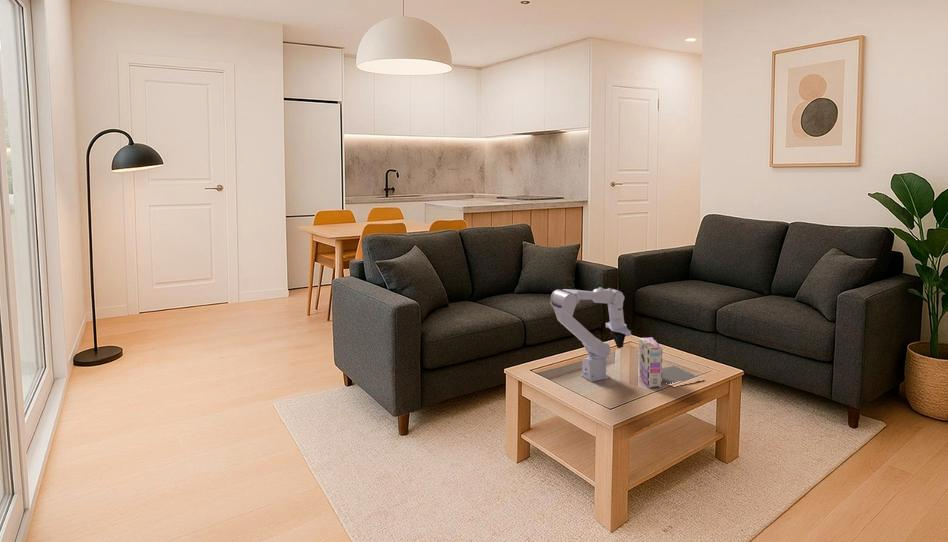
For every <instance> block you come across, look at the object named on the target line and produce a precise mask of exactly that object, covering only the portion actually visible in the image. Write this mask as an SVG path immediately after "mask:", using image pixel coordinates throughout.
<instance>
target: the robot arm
mask: <svg viewBox="0 0 948 542" xmlns="http://www.w3.org/2000/svg"><path fill="white" fill-rule="evenodd" d="M580 300H581V301H582V300H587V301H588V300H592V302H593V303H596V304H607V307H608V308H607V309H608V316H609V321H608V322H605V328H606V329H610V331H611V332H609V334H610V335H611V337H612V339H613V341H614V343H615V345H616V347H617V348H618V349H622V348H624V342H625V339H626V337H630V336H632V332H631V331H632V330H630V329H628V327H627V326H628V325H627V324H626V323H625V319H624V318H625V317H624V309H623V307H624V301H625V295H624V293H623V292H622V291H620V290H617V289H614V288H611V287H608V288H603V287H598V288H595V289H593V290H592V291H590V290H581V289H568V288H565V289H564V288H563V289H555V290H554V291H552V293H551V295H550V300H549V301H550V302H549V304H550V305H551V307H552V308H553V310H554V314H555V317H556V320H557V321H558V322H559V323H560V324H561V325H562V326H564V328H566V330H568V331H569V332H570V333H572V335H574V337H576V338H577V340H579V341H580V342H581V344H582V345H583V346H584V349H585V351H586V352H587V357H584V358H583V359H582V360H581V374H580V376H581V377H583V378H584V379H586V380H588V381H589V382H596V381H601V380H607V379H610V378H611V376H610V375H608V374H607V358H608V357H609V355H610V353H611V350H612V349H611V346H610V344H609V343H606V342H604V341H601V339H599V338H597V337H596V336H595V335H593V333H592V332H590V331H589V330H588V329H587V328H586V327H585V326H584V325H582V324H581V323H580V322H579V321H578V320H576V318H575V317H573V316H574V312H575V309H576V307H577V305H578V304H579V303H580Z"/></svg>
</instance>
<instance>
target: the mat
mask: <svg viewBox="0 0 948 542" xmlns="http://www.w3.org/2000/svg"><path fill="white" fill-rule="evenodd" d="M695 377H699V376H698V375H695V374H694V373H691V372H689V371H687V370H684V369H682V368H680V367H677V366H676V365H672V366H668V367H662V384H663V383H664V384H665V383H667V384H670V383H671V384H672V382H673V383H675V382H678V381H686V380H689V379H692V378H695ZM667 384H666V385H667Z"/></svg>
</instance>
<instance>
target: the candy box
mask: <svg viewBox="0 0 948 542" xmlns="http://www.w3.org/2000/svg"><path fill="white" fill-rule="evenodd" d="M638 348H639V349H638V350H639V351H638V356H639V359H638V360H639V377H640V378H641V380H642V381H643V383H644V384H645V385H646V387H647V388H649V389H650V388H651V389H652V388H662V387H663V382H662V368H663V347H662V346H661V345H660V344H659V343H658V342H657V340H656V339H655V338H654V337H652V336H651V337H639V338H638Z"/></svg>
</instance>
